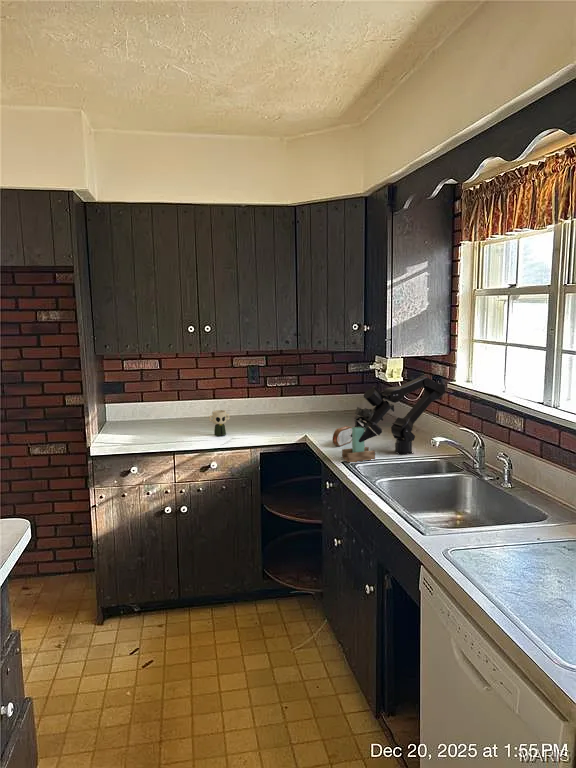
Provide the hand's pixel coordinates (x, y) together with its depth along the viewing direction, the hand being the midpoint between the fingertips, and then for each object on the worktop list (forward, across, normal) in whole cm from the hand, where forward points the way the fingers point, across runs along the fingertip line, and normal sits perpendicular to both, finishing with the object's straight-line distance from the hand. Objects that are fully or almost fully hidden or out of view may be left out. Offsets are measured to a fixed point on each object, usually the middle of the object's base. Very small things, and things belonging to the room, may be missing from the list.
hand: (355, 439), depth 248 cm
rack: (+5, 0, +7) cm, 9 cm away
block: (+5, 0, +7) cm, 8 cm away
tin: (+4, -26, +10) cm, 28 cm away
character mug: (+42, -68, -28) cm, 84 cm away
